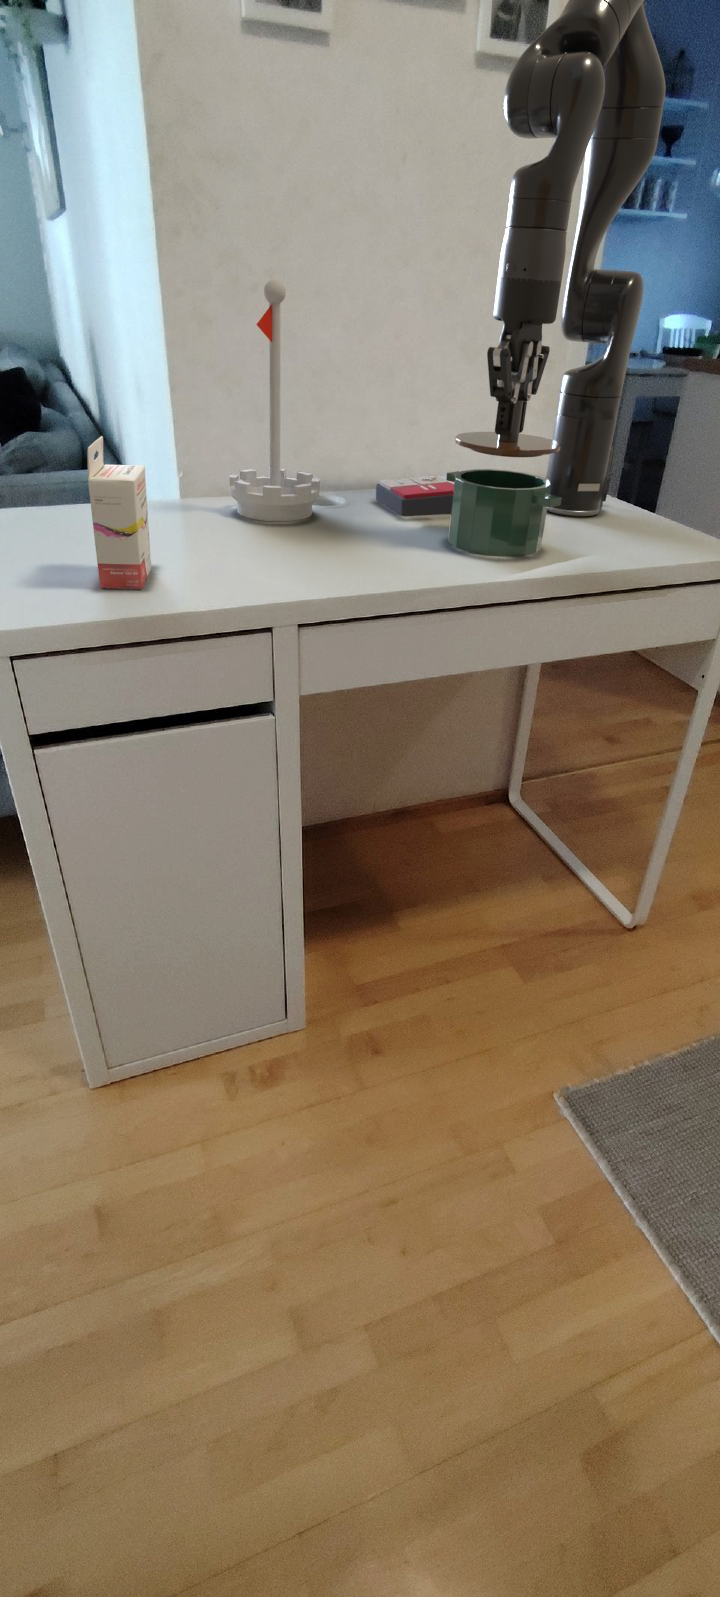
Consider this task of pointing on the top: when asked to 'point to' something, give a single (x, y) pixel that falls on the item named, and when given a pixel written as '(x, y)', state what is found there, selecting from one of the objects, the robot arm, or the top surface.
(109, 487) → the ink cartridge box
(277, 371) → the flag stand
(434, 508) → the grey red flat block
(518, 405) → the lid
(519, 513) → the pot
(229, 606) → the top surface
